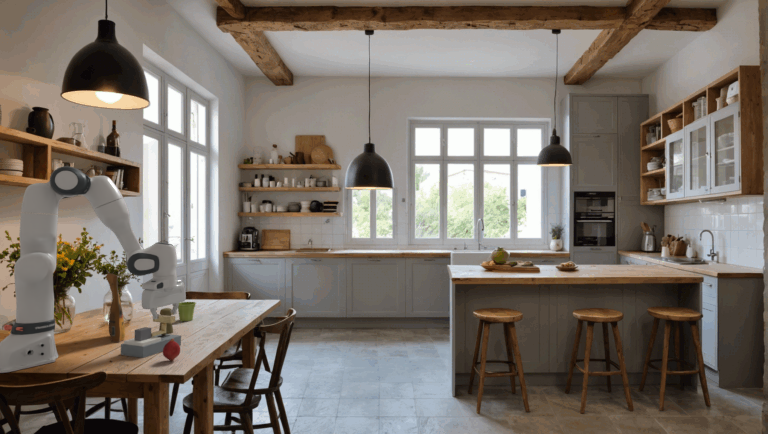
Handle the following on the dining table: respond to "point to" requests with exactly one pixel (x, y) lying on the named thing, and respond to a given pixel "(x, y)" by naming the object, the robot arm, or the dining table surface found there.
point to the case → (149, 346)
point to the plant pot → (186, 311)
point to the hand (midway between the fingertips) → (164, 316)
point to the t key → (163, 324)
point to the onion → (171, 350)
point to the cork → (168, 325)
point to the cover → (142, 337)
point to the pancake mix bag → (115, 312)
